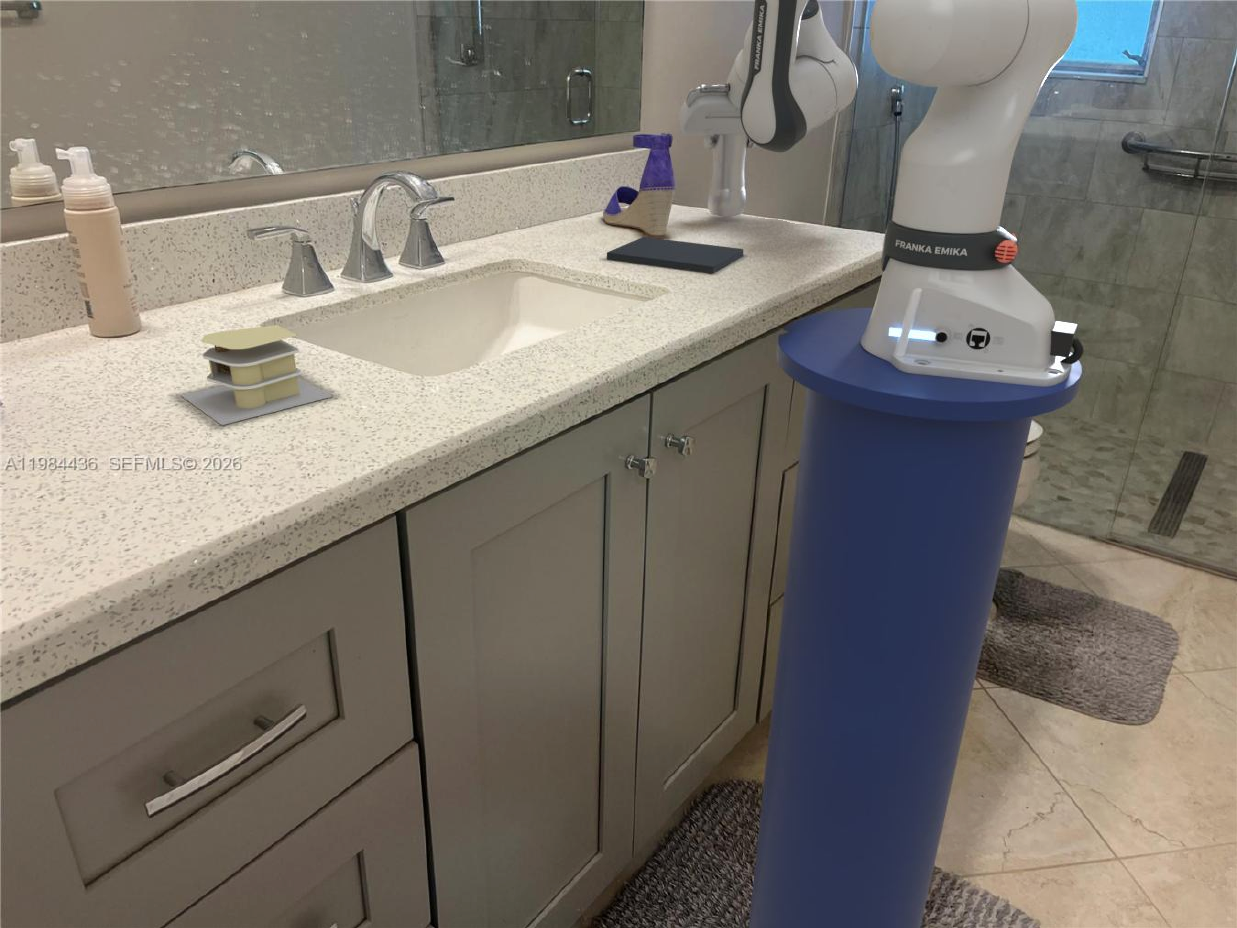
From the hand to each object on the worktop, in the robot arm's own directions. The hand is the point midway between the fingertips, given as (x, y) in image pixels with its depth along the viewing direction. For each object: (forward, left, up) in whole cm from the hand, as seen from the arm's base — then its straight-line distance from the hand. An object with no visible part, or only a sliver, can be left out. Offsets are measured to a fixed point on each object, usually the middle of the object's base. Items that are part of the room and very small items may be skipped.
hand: (728, 145), depth 156 cm
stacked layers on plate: (+7, +98, -12) cm, 99 cm away
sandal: (+10, +14, -12) cm, 21 cm away
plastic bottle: (-1, +1, -12) cm, 12 cm away
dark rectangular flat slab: (-4, +30, -12) cm, 33 cm away
